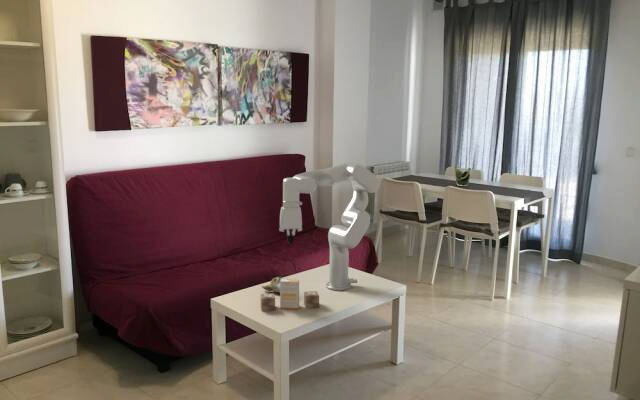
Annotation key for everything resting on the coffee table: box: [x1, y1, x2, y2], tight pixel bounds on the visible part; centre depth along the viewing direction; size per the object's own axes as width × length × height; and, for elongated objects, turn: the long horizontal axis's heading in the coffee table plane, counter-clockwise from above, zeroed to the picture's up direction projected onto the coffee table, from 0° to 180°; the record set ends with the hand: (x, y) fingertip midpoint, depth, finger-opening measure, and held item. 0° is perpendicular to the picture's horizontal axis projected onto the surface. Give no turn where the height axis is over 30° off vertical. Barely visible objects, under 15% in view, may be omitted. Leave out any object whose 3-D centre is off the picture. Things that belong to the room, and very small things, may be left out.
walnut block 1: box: [260, 292, 276, 312], centre depth 245 cm, size 6×6×6 cm
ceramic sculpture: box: [261, 275, 284, 294], centre depth 266 cm, size 11×9×15 cm
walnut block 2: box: [303, 290, 320, 309], centre depth 249 cm, size 6×6×6 cm
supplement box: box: [279, 277, 300, 310], centre depth 247 cm, size 8×5×13 cm, turn 84°
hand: (290, 243), depth 254 cm, fingers closed
